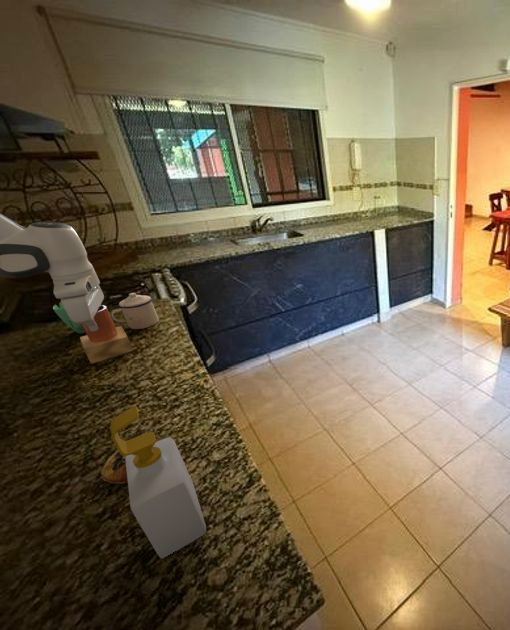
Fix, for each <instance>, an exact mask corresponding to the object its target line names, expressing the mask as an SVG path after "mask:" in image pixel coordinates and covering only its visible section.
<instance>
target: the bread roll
mask: <svg viewBox="0 0 510 630" xmlns="http://www.w3.org/2000/svg"><path fill="white" fill-rule="evenodd" d="M155 438H156V442H158V441H161V440H163V439H164V437H161V436H159V435H156V434H155ZM125 458H126V456H122V455H121V454H120V453H119V451H118V449H117V450H116V451H115V452H114V453H113V454H112V455H111V456H110V457H109V458H108V459H107V460H106V462H105V464H104V466H103V467H102V469H101V472H100V474H101V477H102V480H103V482H108V483H110V484H115V485H117V484H118V485H119V484H120V485H121V484H122V485H123V484H128V479H127V470H126V460H125Z"/></svg>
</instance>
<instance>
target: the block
mask: <svg viewBox="0 0 510 630" xmlns="http://www.w3.org/2000/svg"><path fill="white" fill-rule="evenodd" d="M115 327H116V330H117V332H118V334H117V335H116V336H115V337H113V338H111V339H109V340H105V341H101V342H91V341H90V340H89V339H88V337H87V335H86V334H85V335H82V336H80V337H79V339H80V342H81V345H82V348H83V351H84V353H85V355H86V357H87V359H88V361H89V363H90V364H95V363H98V362H101V361H105V360H108V359H110V358H115V357H117V356H120V355H124V354H127V353H130V352H133V351H134V348H133V346H132V343H131V342H130V339H129V337H128V335H127V333H126V332H125V330H124V328H123V326H122V325H119V326H115Z"/></svg>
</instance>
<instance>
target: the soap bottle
mask: <svg viewBox="0 0 510 630" xmlns="http://www.w3.org/2000/svg"><path fill="white" fill-rule="evenodd" d="M139 413H140V412H139V408H138V407H137V406H136V405H134V406H131V407H130V408H128V409H127V410H125V411H123V412H121V413H120V414H118V415H117V416H115V417H114V418H112V420H111V421H110V437H111V440H112V442H113V444H114V446H115V447H116V449H117V450H118V451H119V453H120V454H121V455H122V456H126V458H125V460H126V470H127V479H128V483H127V488H128V496H129V497H128V498H129V505H130V506H129V507H130V511H131V512H132V514H133V515H134V517H135V519H136V520H137V522H138V524H139V526H140V528H141V529H142V530H143V532H144V534H145V536H146V538H147V539H148V541H149V542H150V544H151V546H152V548H153V549H154V551H155V553H156V554H157V556H158V557H159V558H160V559H162V558H163V559H165V558H164V557H166V556H167V557H169V556H171V555H172V554H174V553H176V552H177V551H180V550H181V549H182V548H184V547H186V546H187V545H190V544H191V543H192V542H194V541H196V540H198V539H199V538H201V537H203V536H204V535H205V534H206V533H207V525H206V521H205V518H204V515H203V511H202V508H201V505H200V501H199V498H198V494H197V492H196V488H195V484H194V482H193V479H192V477H191V475H190V473H189V471H188V469H187V466H186V464H185V462H184V459H183V457H182V455H181V452H180V450H179V448H178V446H177V444H176V442H175V440H174V439H173V438H172V437H171V436H169V437H166V438H163V440H161V441H158V442H156V438H155V435H156V434H155V432H154V431H151V430H150V431H147V432H145V433H143V434H140V435H138V436H134V437H133V438H130V439H127V440H124V439H122V437H120V434H119V432H120V431H122V430H123V429H124V428H127V427H128V426H129V425H130V424H133V423H134V422H135V421H137V420H138V419H139V417H140V414H139ZM175 551H176V552H175ZM173 552H174V553H173ZM170 554H171V555H170ZM168 555H169V556H168ZM167 557H166V558H167ZM163 559H162V560H163Z"/></svg>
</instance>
